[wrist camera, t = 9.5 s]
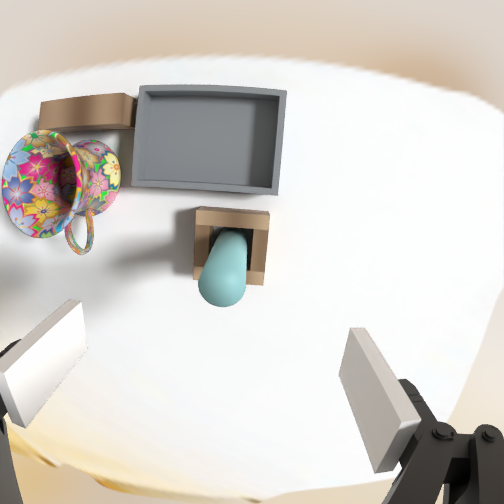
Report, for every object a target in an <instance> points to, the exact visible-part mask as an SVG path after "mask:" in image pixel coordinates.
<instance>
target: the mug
mask: <svg viewBox="0 0 504 504" xmlns="http://www.w3.org/2000/svg"><path fill="white" fill-rule="evenodd" d="M120 183H121V170H120V165H119V162H118V159H117V157H116V155H115V154H114V152H113V151H112V150H111V149H110V148H109V147H108V146H107V145H105V144H104V143H102V142H100V141H96V140H84V141H81V142H78V143H76V144H74V145H73V146H71V144H70V143H69V142H68V141H67V140H66V139H65V138H64V137H63V136H61V135H60V134H58V133H56V132H54V131H50V130H37V131H34V132H31V133H29V134H27V135H26V136H24V137H23V138H22V139H20V140H19V141H18V142H17V143H16V145H15V146H14V147H13V149H12V150H11V152H10V154H9V156H8V158H7V160H6V163H5V166H4V170H3V176H2V195H3V201H4V204H5V208H6V210H7V213H8V215H9V217H10V219H11V220H12V222H13V223H14V224H15V225H16V227H17V228H18V229H19V230H21V231H22V232H23V233H25V234H27V235H29V236H31V237H35V238H48V237H51V236H53V235H56V234H57V233H59V232H60V231H62V230H63V229H64V228H65V236H66V239H67V242H68V244H69V246H70V247H71V248H72V250H73V251H74V252H75V253H77V254H79V255H84V254H86V253H88V252H89V251H90V249H91V247H92V244H93V238H94V227H93V220H92V216H94V215H97V214H99V213H101V212H103V211H105V210H106V209H107V208H108V207H109V206H110V205H111V204H112V203H113V201H114V200H115V198H116V196H117V194H118V191H119V188H120ZM75 213H76V214H78V215H82V216H86V222H87V244H86V247H85V249H82V248H80V247H79V246H78V244H77V243H76V241H75V240H74V238H73V235H72V231H71V223H72V220H73V219H74V218H75V217H74V214H75Z"/></svg>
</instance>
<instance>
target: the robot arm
mask: <svg viewBox="0 0 504 504" xmlns="http://www.w3.org/2000/svg"><path fill="white" fill-rule="evenodd" d="M87 349H88V345H87V339H86V332H85V325H84V318H83V310H82V302H81V301H75V300H68V301H67V302H66V303H64V304H63V305H62V306H61V307H59V308H58V309H57V310H56V311H55V312H53V313H52V314H51V315H50V316H48V317H47V318H46V319H45V320H44V321H43V322H41V323H40V324H39V325H38V326H37V327H35V328H34V329H33V330H32V331H31V332H30V333H28V334H27V335H26V336H25V337H24V338H23V339H19V340H17V341H15V342H13V343H11V344H10V345H8V346H7V347H6V348H5V350H3V351H2V352H0V504H23V501H22V498H21V494H20V491H19V487H18V483H17V479H16V475H15V471H14V466H13V461H12V456H11V451H10V446H9V440H8V434H7V427H6V422H5V420H4V418H3V417H4V415H5V414H6V413H7V412H8V414H9V416H10V419H11V421H12V423H14V424H17V425H19V426H21V427H24V428H27V426H28V425H29V424H30V422H31V421H32V420H33V418H34V417H35V416H36V414H37V413H38V412H39V410H40V409H41V408H42V406H43V405H44V404H45V402H46V401H47V400H48V398H49V397H50V396H51V395H52V393H53V392H54V391H55V389H56V388H57V387H58V386H59V384H60V383H61V382H62V380H63V379H64V378H65V377H66V375H67V374H68V373H69V372H70V370H71V369H72V368H73V367H74V365H75V364H76V363H77V362H78V360H79V359H80V358H81V357H82V355H83V354H84V353H85V352H86V351H87ZM339 377H340V379H341V382H342V385H343V387H344V390H345V393H346V395H347V398H348V401H349V403H350V406H351V409H352V412H353V414H354V417H355V420H356V422H357V425H358V428H359V431H360V433H361V436H362V439H363V442H364V445H365V447H366V450H367V453H368V456H369V459H370V462H371V465H372V467H373V470H374V473H381V472H388V471H393V470H394V468H395V467H396V465H397V463H398V462H400V464H401V467H402V470H401V471H400V473H399V474H398V476H397V477H396V479H395V480H394V482H393V483H392V487H391V489H390V491H389V492H388V494H387V496H386V497H385V499H384V501H383V502H382V504H435V502H436V500H437V497H438V495H439V492H440V490H441V487H442V484H444V495H443V504H504V438H503V435H502V433H501V432H500V430H498V428H496V427H494V426H492V425H488V424H484V425H483V424H482V425H480V426H478V427H477V429H476V430H475V431H474V433H473V434H457V432H456V431H455V429H454V428H453V427H452V426H451V425H448V424H447V423H444V422H438V421H437V420H436V418H435V416H434V415H433V413H432V412H431V410H430V409H429V407H428V406H427V404H426V402H425V401H424V399H423V398H422V396H421V395H420V393H419V392H418V390H417V389H416V387H415V386H414V385H413V384H412V383H410V382H409V381H408V380H407V379H397V378H396V376H395V375H394V373H393V371H392V370H391V368H390V366H389V365H388V363H387V362H386V360H385V358H384V357H383V355H382V354H381V352H380V351H379V349H378V347H377V346H376V344H375V343H374V341H373V340H372V338H371V336H370V335H369V333H368V332H367V330H366V329H365V328H350V331H349V335H348V339H347V343H346V348H345V352H344V356H343V359H342V363H341V367H340V371H339Z"/></svg>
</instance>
